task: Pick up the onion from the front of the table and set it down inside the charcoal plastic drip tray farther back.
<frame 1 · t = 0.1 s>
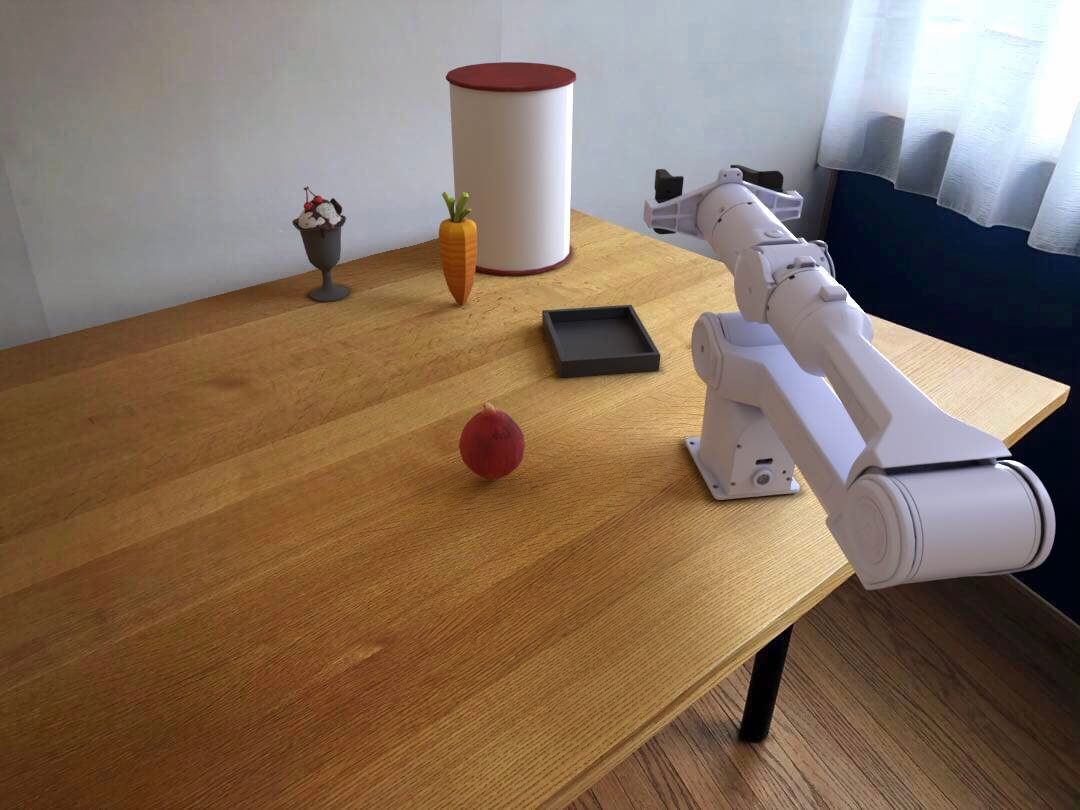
hand: (695, 176, 86), 22 cm above the table, tool horizontal, fingers open, 7 cm apart
container: (513, 254, 127), on the table
drip tray: (597, 347, 101), on the table
onion: (493, 480, 79), on the table
carrot: (461, 306, 111), on the table
sundae: (329, 295, 114), on the table
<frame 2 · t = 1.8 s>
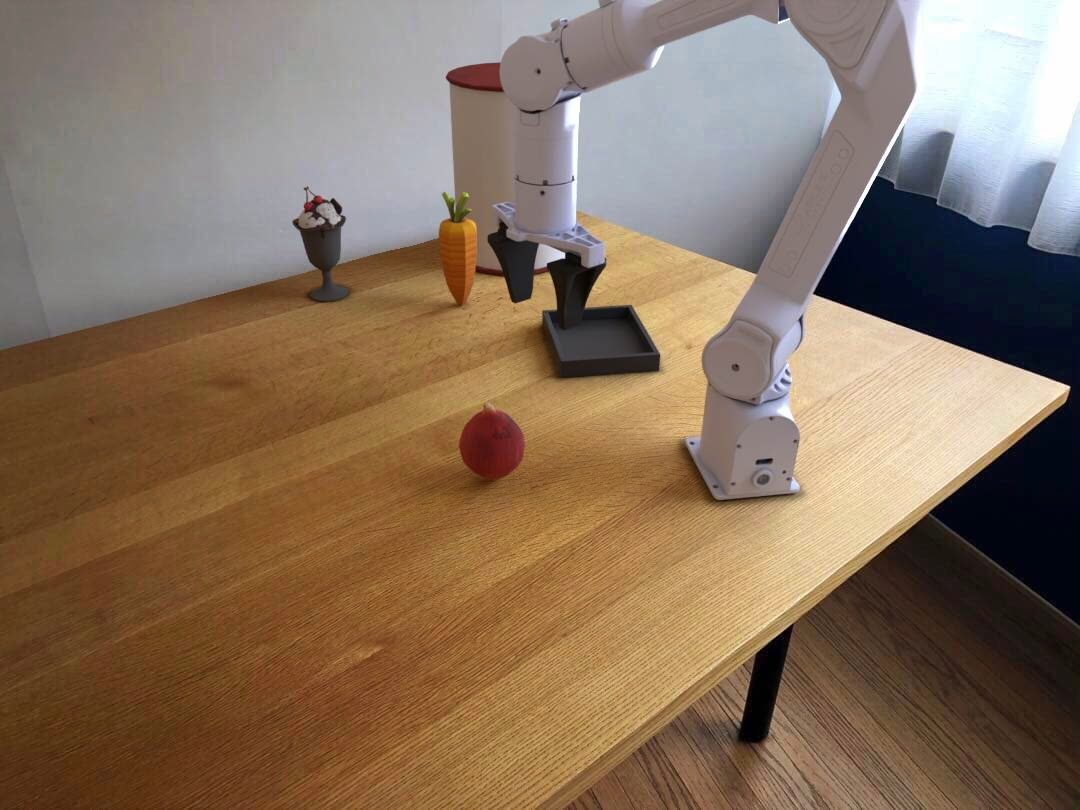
hand: (544, 312, 85), 10 cm above the table, tool pointing down, fingers open, 7 cm apart
nothing on the table moved.
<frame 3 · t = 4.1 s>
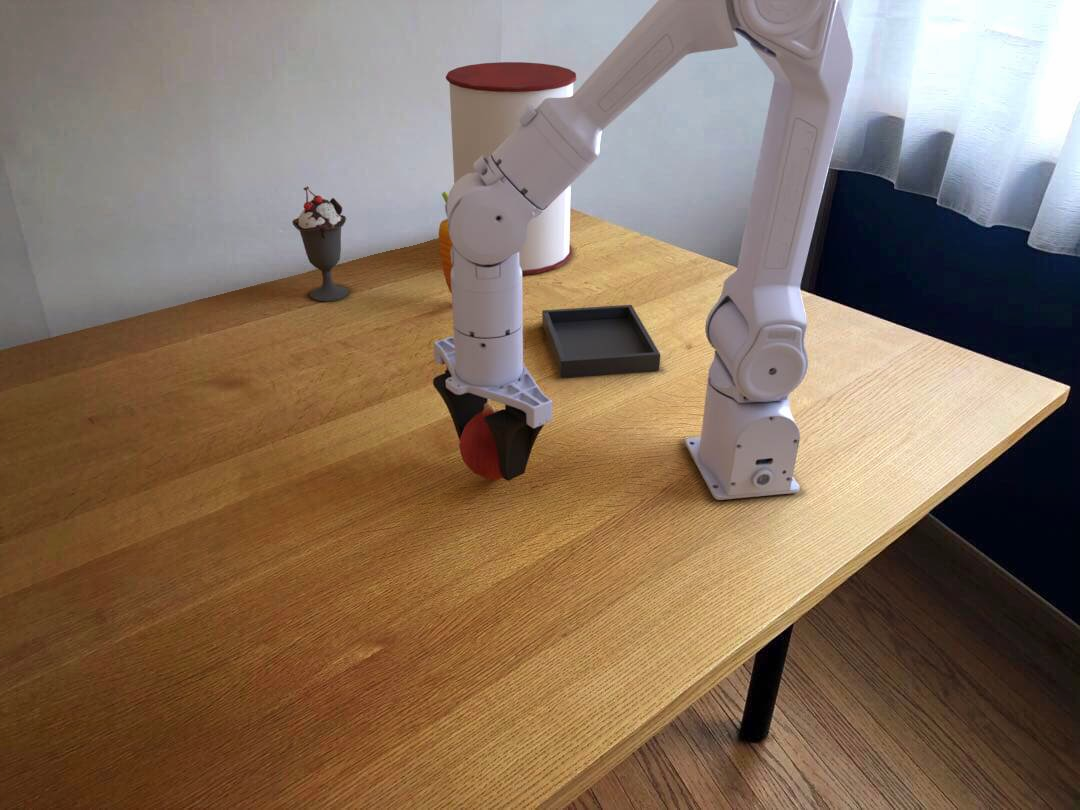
hand: (492, 458, 78), 2 cm above the table, tool pointing down, fingers closed on onion, 6 cm apart
onion: (493, 480, 79), on the table, touching gripper
everything else where it was.
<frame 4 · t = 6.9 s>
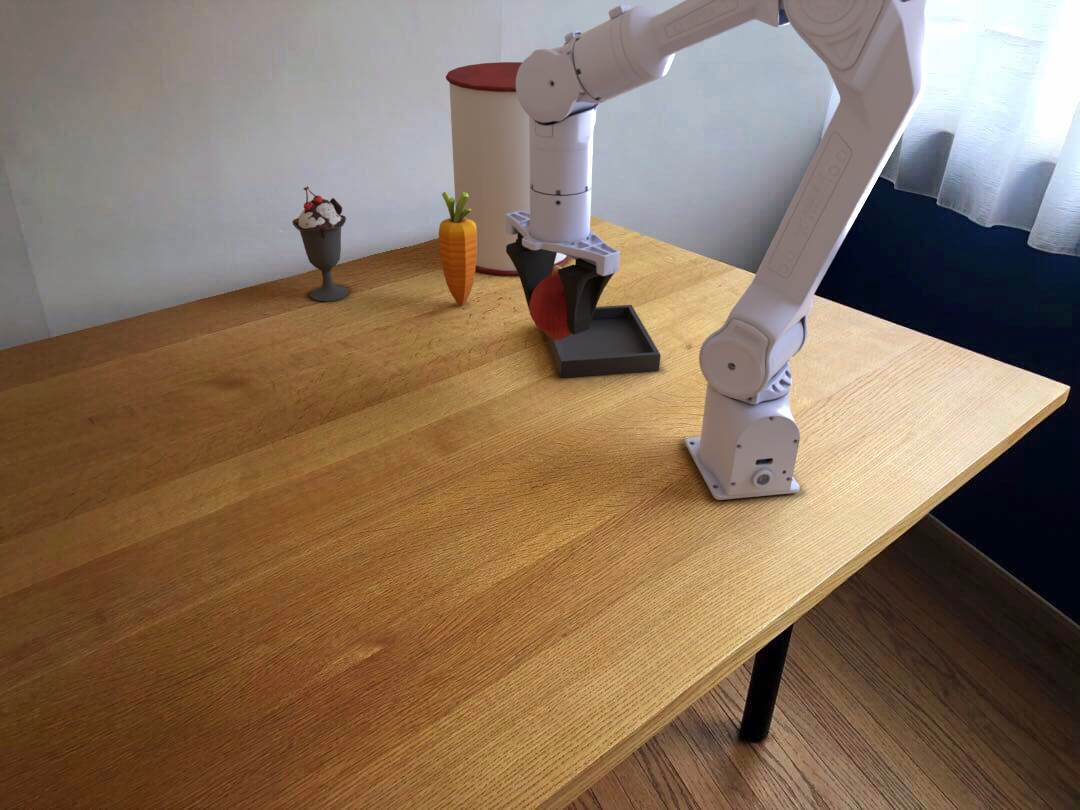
hand: (558, 319, 86), 9 cm above the table, tool pointing down, fingers closed on onion, 6 cm apart
onion: (558, 341, 88), point 7 cm above the table, touching gripper
everything else where it was.
when the fingers open (3 cm above the table, at t = 10.0 s): onion stays where it is, resting on drip tray.
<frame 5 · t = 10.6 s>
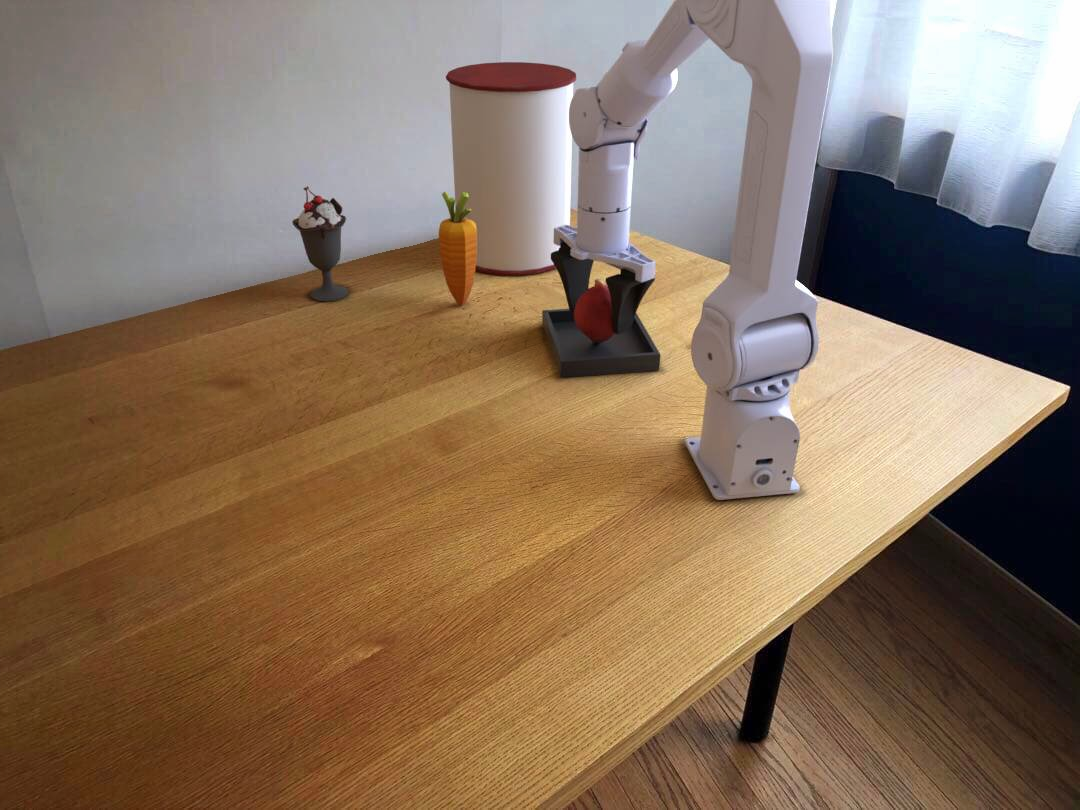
hand: (599, 319, 99), 4 cm above the table, tool pointing down, fingers open, 7 cm apart
onion: (598, 344, 101), resting on drip tray
everything else where it was.
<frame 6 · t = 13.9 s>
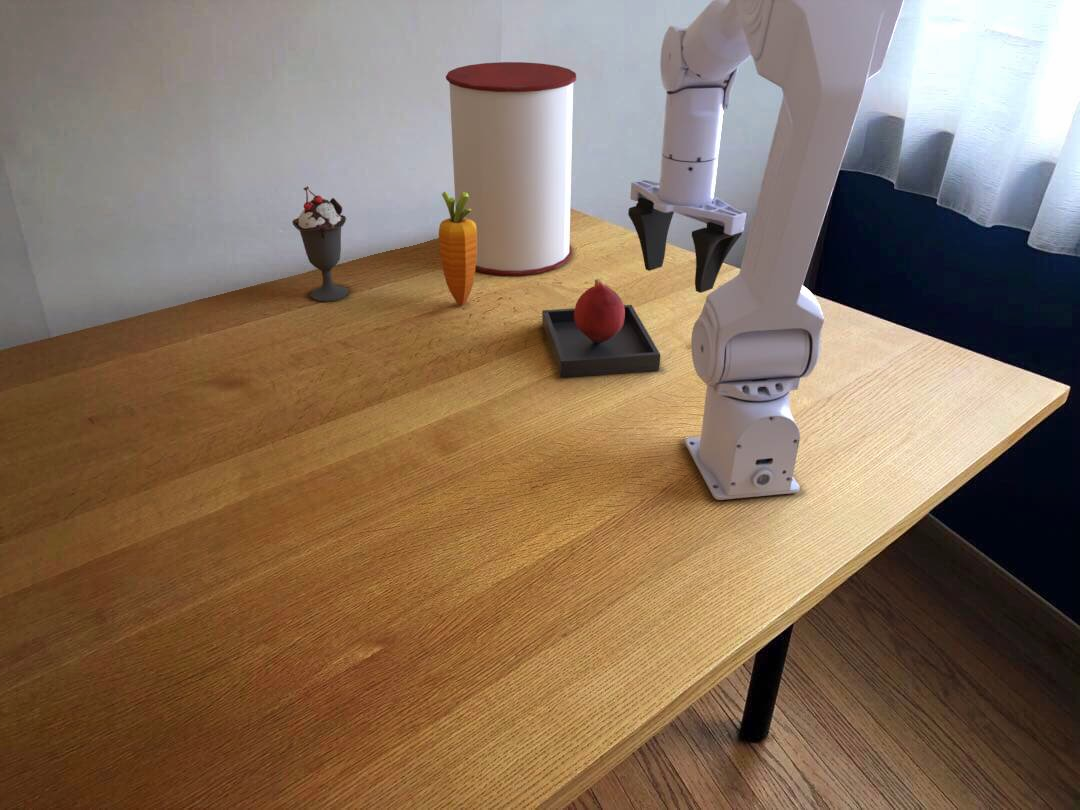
hand: (678, 278, 95), 9 cm above the table, tool pointing down, fingers open, 7 cm apart
nothing on the table moved.
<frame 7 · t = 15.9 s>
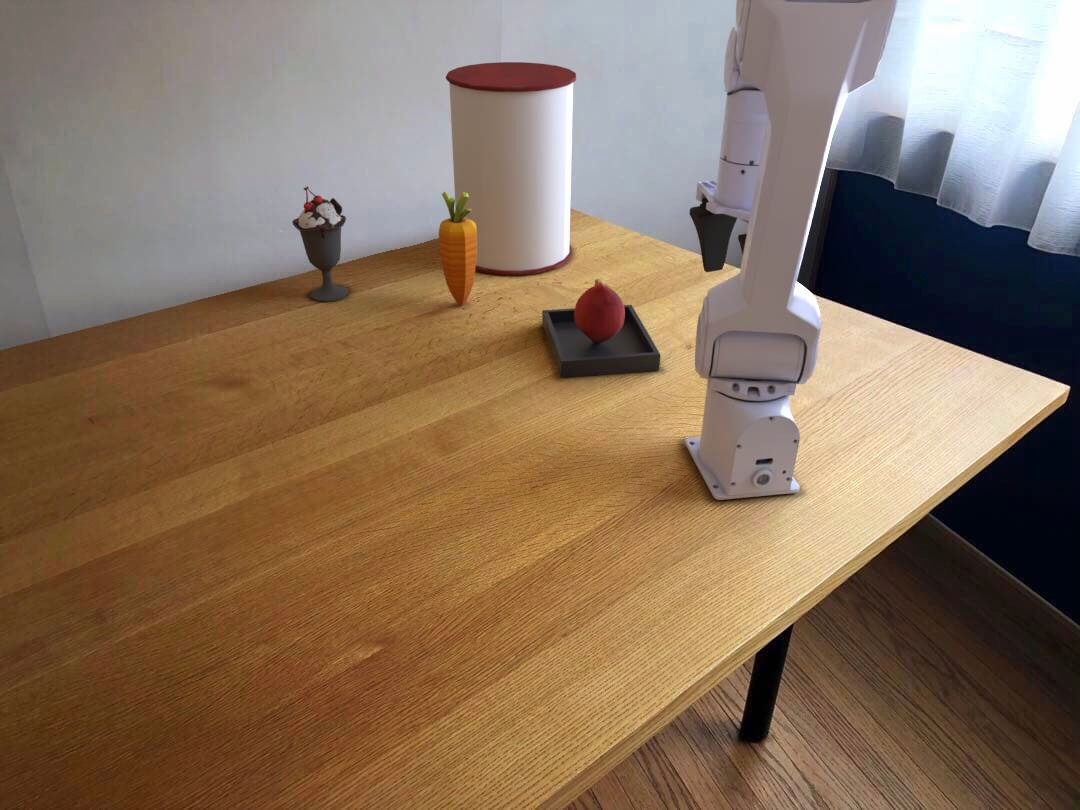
hand: (732, 282, 94), 9 cm above the table, tool pointing down, fingers open, 7 cm apart
nothing on the table moved.
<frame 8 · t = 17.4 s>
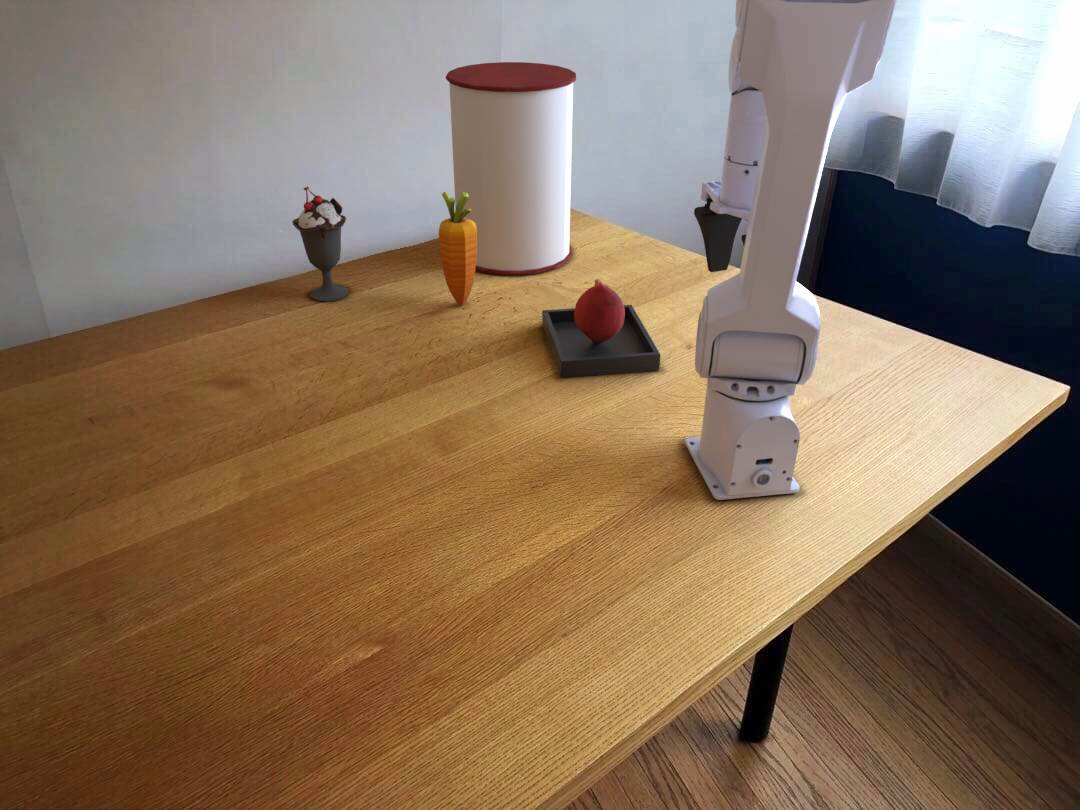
hand: (736, 282, 94), 9 cm above the table, tool pointing down, fingers open, 7 cm apart
nothing on the table moved.
at the end: onion 0.1 cm off-centre in the drip tray, point 0.4 cm above the drip tray's base; the gripper is holding nothing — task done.
